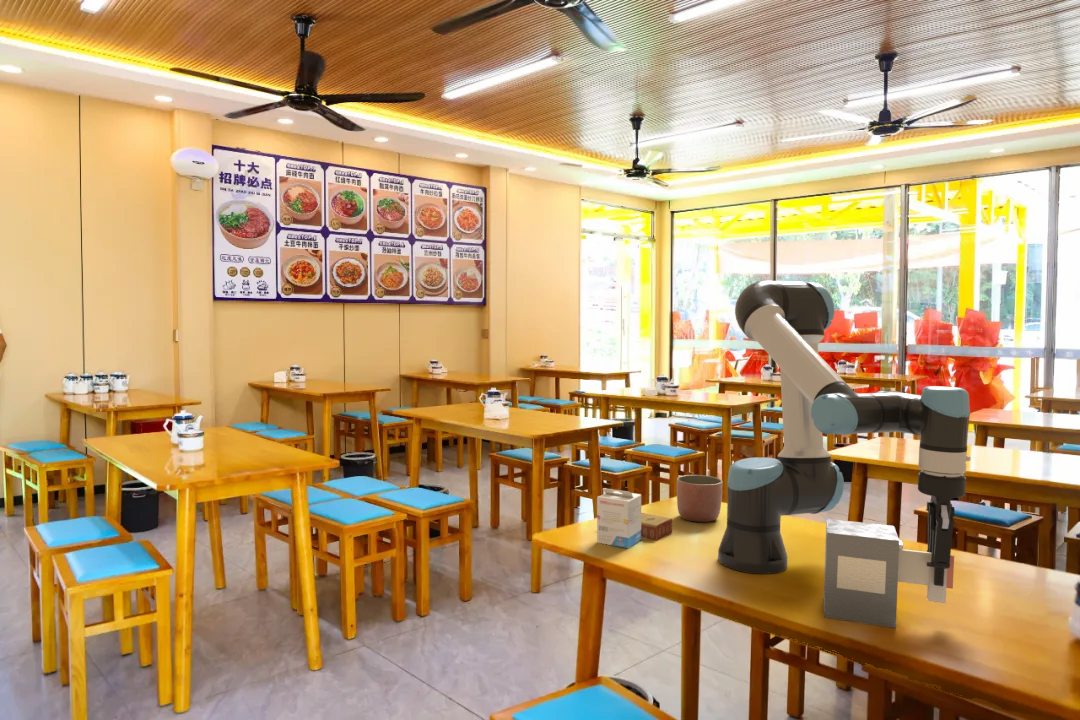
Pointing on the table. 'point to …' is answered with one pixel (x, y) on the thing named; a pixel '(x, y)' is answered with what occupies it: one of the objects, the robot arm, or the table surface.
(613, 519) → the ink box
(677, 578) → the table surface
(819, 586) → the table surface
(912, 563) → the pink-tipped white stick
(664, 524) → the carton
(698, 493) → the planter
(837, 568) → the dispenser
